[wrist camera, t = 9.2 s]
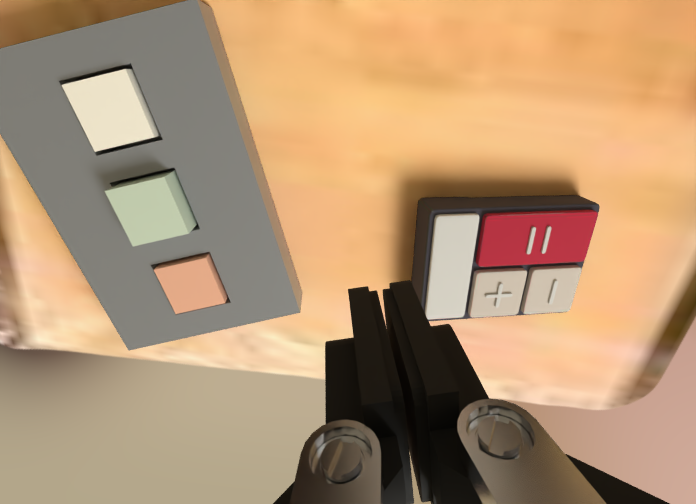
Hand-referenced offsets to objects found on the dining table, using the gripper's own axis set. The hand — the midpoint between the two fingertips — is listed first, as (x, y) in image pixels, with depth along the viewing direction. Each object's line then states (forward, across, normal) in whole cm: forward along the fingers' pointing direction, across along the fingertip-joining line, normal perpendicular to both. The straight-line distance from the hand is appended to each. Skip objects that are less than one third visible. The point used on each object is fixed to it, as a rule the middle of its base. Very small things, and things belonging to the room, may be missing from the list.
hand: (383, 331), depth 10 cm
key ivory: (+22, +15, -6) cm, 28 cm away
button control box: (+24, -13, +10) cm, 29 cm away
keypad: (+24, +15, 0) cm, 28 cm away
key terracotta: (+22, +14, +8) cm, 27 cm away
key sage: (+21, +15, 0) cm, 26 cm away
